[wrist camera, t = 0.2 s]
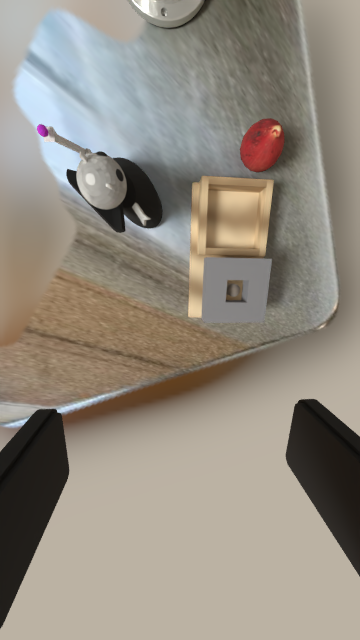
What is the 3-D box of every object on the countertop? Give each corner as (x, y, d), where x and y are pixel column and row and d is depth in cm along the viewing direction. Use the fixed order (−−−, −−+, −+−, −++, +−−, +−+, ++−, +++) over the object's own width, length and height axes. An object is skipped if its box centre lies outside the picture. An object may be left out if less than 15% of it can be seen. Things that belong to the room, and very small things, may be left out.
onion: (229, 174, 34) (249, 147, 26) (238, 134, 32) (263, 92, 25) (261, 184, 34) (291, 160, 27) (272, 144, 33) (306, 107, 25)
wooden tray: (192, 184, 33) (197, 169, 28) (268, 188, 35) (287, 174, 29) (188, 316, 39) (192, 323, 34) (254, 315, 40) (268, 323, 35)
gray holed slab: (204, 257, 32) (207, 257, 30) (264, 259, 33) (272, 258, 31) (201, 318, 34) (204, 322, 32) (257, 318, 35) (264, 322, 33)
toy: (175, 206, 33) (150, 200, 20) (147, 237, 36) (109, 250, 23) (120, 141, 30) (49, 82, 17) (95, 180, 33) (16, 156, 20)
